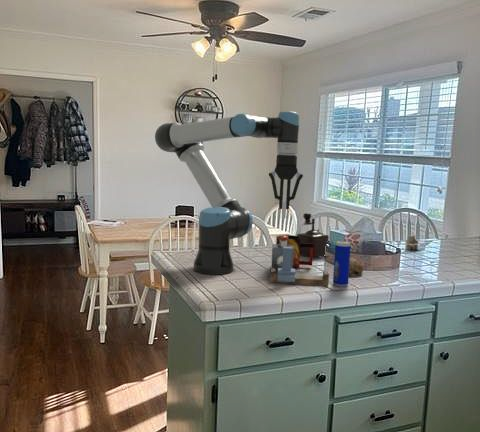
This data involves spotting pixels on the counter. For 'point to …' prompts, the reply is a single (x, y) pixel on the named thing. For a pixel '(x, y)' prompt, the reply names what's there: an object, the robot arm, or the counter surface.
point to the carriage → (286, 266)
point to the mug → (298, 250)
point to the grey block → (279, 256)
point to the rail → (303, 279)
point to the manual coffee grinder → (313, 239)
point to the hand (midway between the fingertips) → (283, 217)
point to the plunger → (283, 240)
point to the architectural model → (412, 242)
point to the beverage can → (341, 263)
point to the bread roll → (354, 267)
